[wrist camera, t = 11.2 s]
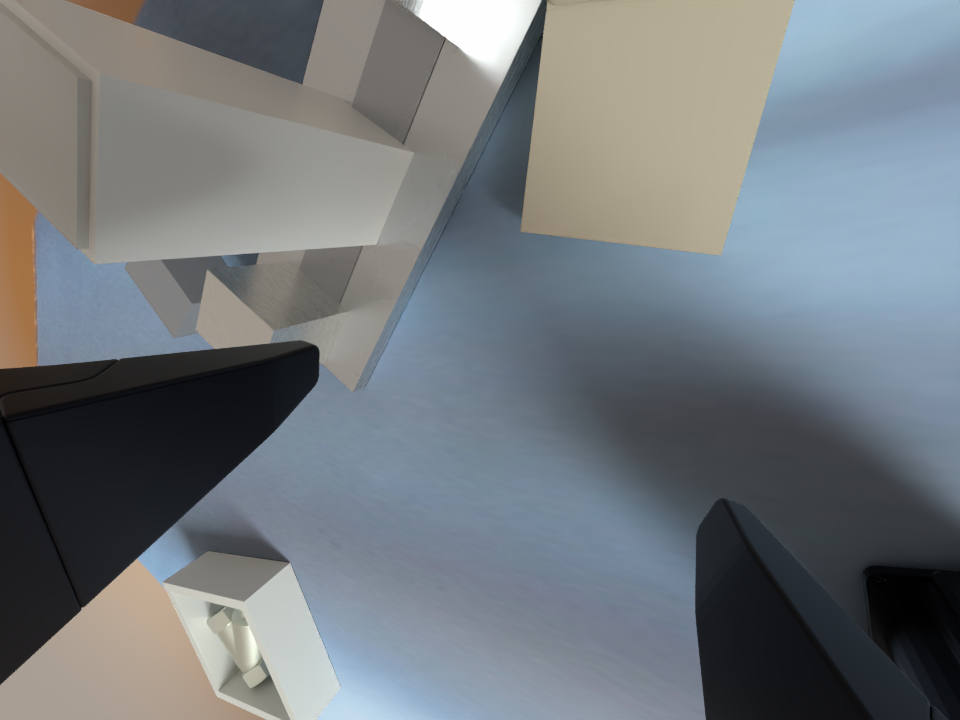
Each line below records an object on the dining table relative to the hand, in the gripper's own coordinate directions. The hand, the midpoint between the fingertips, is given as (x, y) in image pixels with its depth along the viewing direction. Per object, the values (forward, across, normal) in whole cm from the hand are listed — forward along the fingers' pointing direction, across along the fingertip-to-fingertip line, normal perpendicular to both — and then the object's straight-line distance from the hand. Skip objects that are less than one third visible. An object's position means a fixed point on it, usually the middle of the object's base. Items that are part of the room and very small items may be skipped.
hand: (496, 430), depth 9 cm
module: (+13, +12, -2) cm, 18 cm away
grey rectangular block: (+16, +25, +8) cm, 30 cm away
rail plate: (+14, +12, -2) cm, 18 cm away
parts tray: (+12, +18, +41) cm, 47 cm away
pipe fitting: (+13, +18, +43) cm, 48 cm away
